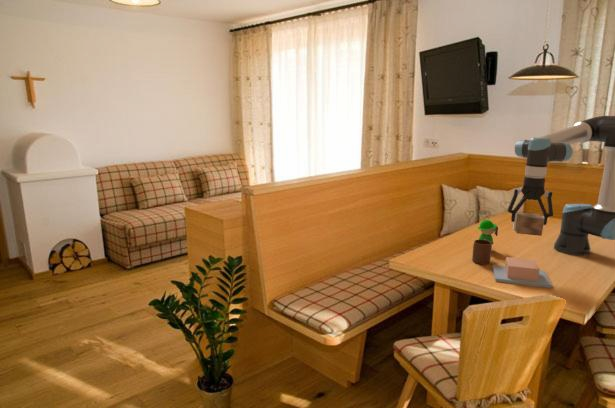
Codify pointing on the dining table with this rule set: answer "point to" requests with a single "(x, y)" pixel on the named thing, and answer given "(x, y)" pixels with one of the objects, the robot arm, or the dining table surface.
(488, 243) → the mug
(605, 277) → the dining table surface
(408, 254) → the dining table surface
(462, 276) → the dining table surface
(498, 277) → the plate
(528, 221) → the walnut block
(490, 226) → the toy
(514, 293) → the dining table surface
